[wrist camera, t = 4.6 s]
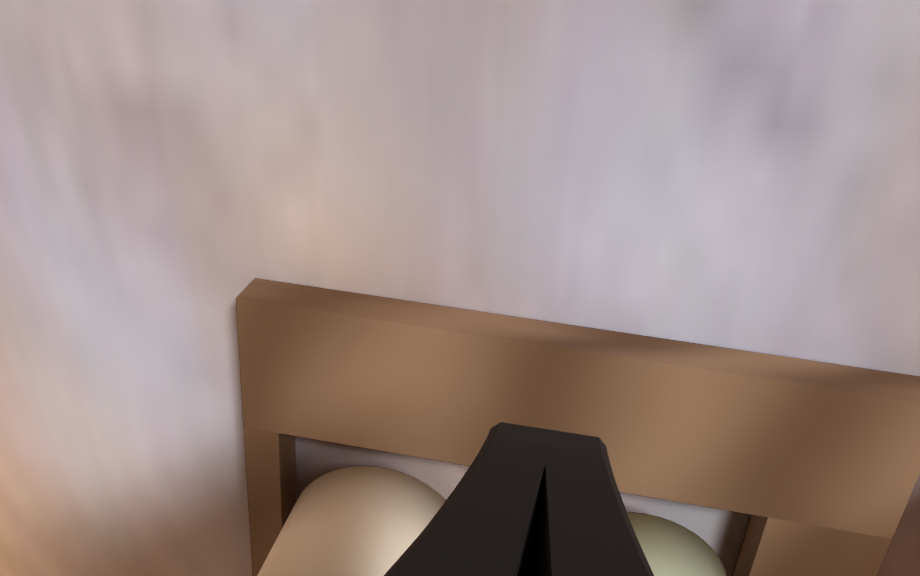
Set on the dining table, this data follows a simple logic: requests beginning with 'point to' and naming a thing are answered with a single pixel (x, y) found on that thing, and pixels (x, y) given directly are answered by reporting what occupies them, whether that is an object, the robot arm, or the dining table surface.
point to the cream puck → (352, 524)
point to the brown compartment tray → (584, 416)
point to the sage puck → (674, 548)
